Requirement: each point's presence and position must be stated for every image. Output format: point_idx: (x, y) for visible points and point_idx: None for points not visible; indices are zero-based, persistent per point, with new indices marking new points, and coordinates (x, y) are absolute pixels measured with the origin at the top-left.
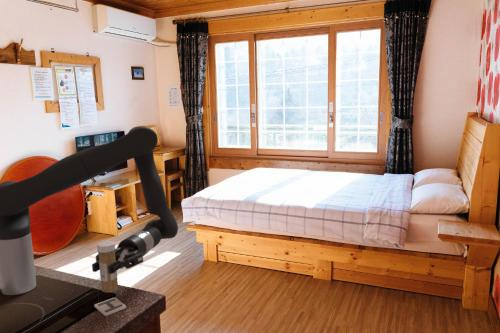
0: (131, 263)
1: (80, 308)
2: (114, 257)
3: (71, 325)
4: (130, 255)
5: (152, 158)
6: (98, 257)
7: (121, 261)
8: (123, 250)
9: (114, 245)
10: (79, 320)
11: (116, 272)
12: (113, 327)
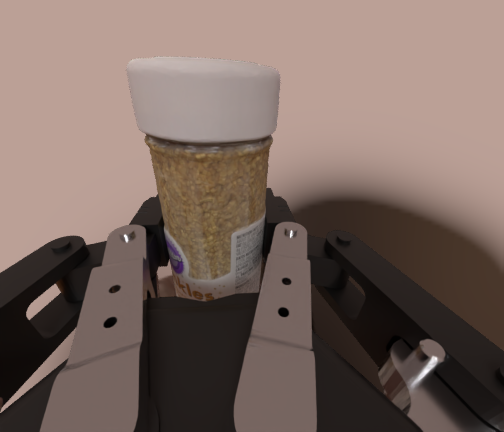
0: (50, 337)
1: (312, 322)
2: (157, 190)
3: (262, 262)
4: (31, 391)
5: None
6: (327, 237)
7: (117, 235)
8: (135, 355)
9: (129, 87)
10: (261, 279)
11: (174, 281)
12: (160, 280)
